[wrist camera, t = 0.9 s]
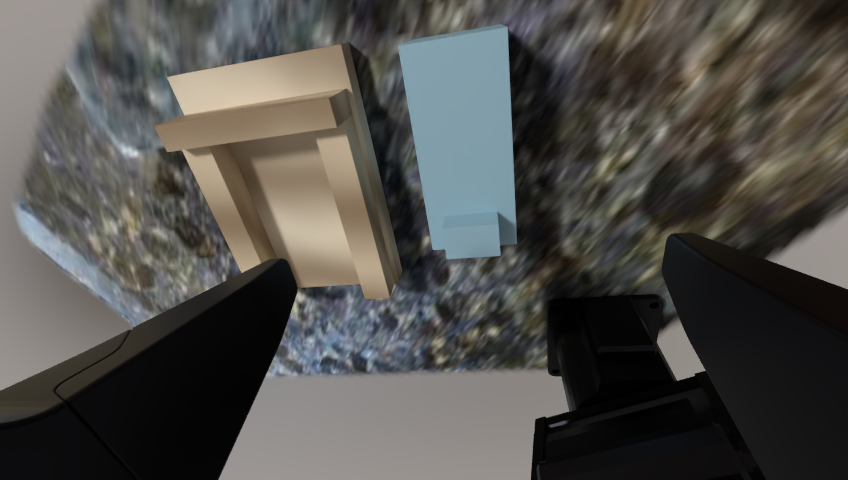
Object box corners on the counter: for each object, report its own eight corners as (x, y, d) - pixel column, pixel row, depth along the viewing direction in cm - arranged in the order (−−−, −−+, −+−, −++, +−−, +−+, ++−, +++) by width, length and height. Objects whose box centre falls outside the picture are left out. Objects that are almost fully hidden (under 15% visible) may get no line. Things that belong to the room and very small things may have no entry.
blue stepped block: (510, 207, 21) (519, 258, 17) (439, 213, 22) (430, 263, 18) (501, 23, 17) (510, 28, 12) (413, 39, 18) (391, 48, 13)
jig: (402, 270, 24) (390, 308, 21) (273, 278, 26) (246, 314, 23) (348, 42, 18) (321, 48, 15) (183, 73, 20) (128, 85, 16)
